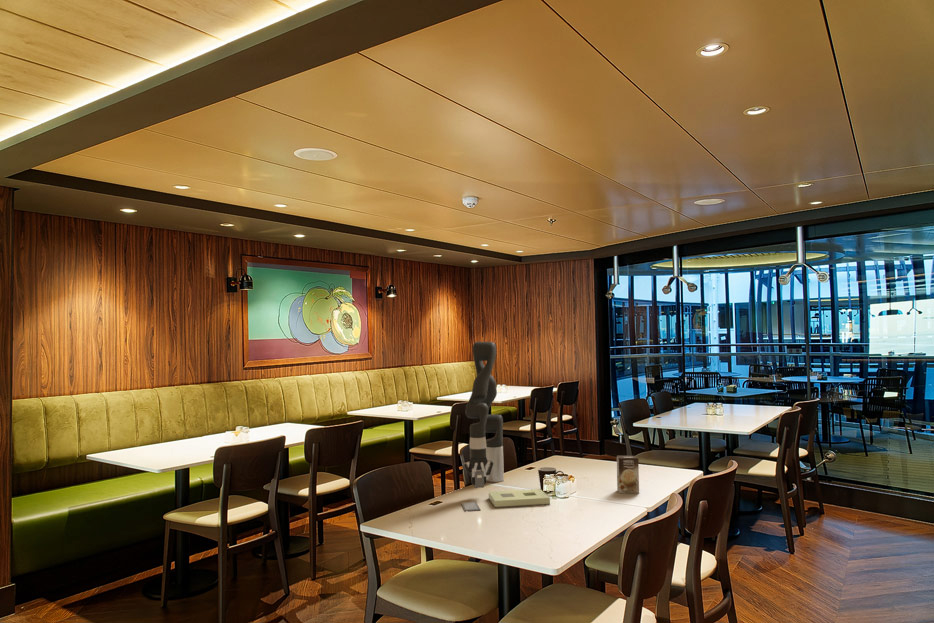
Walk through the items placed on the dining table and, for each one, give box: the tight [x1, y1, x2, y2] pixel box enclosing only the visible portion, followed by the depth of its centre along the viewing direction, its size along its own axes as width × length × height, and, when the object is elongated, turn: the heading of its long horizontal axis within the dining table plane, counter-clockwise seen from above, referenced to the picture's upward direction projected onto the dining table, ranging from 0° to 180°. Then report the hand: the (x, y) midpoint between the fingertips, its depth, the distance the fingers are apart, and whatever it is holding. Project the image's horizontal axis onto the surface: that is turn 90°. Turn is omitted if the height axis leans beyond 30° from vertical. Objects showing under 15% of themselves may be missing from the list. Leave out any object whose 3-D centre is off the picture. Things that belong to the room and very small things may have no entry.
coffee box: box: [616, 455, 640, 494], centre depth 278 cm, size 9×6×16 cm
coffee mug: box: [537, 466, 565, 491], centre depth 283 cm, size 12×9×10 cm
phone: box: [460, 501, 481, 512], centre depth 258 cm, size 13×7×1 cm, turn 8°
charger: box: [474, 469, 485, 489], centre depth 273 cm, size 4×4×7 cm
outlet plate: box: [488, 488, 551, 509], centre depth 265 cm, size 16×24×3 cm, turn 97°
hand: (479, 484), depth 273 cm, fingers closed on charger, 4 cm apart
